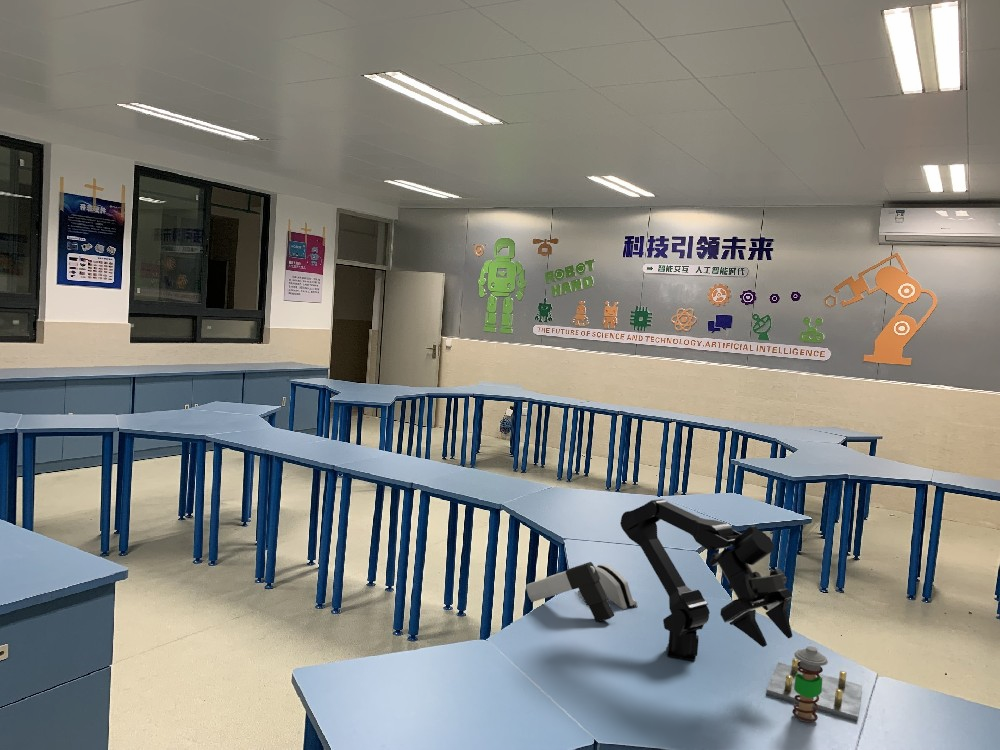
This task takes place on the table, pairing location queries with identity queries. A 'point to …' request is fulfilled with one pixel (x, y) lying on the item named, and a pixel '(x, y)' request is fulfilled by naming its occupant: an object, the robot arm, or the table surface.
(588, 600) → the handheld device
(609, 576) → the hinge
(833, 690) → the plate
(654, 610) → the table surface
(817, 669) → the shock absorber
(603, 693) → the table surface
